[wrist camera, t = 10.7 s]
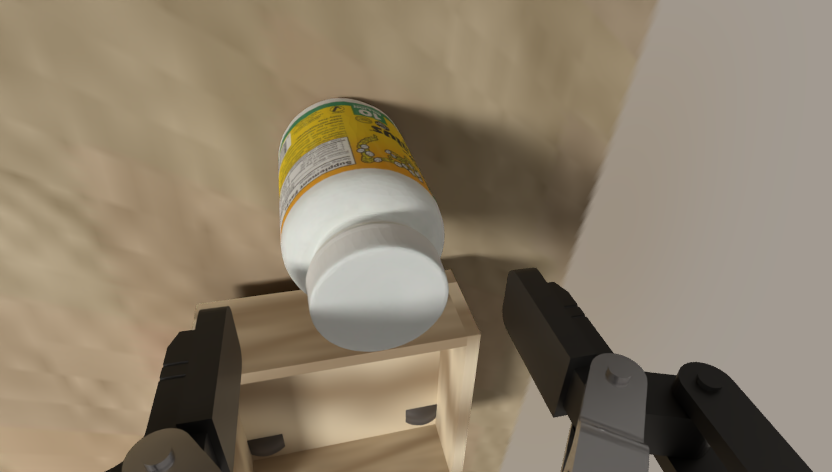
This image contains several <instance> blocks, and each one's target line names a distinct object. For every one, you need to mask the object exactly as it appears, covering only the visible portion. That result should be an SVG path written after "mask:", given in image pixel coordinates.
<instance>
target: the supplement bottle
mask: <svg viewBox="0 0 832 472" xmlns="http://www.w3.org/2000/svg"><path fill="white" fill-rule="evenodd" d="M278 172H279V173H278V176H279V201H280V238H281V250H282V257H283V260H284V264H285V267H286V269H287V271H288V273H289V275H290V276H291V278H292V280H293V281H294V282H295V283H296V285H297V286H298V287H299V288H300V289H301V290H302V291H303V292H304V293H306V294H307V297H308V306H309V312H310V316H311V319H312V322H313V324H314V326H315V328H316V329H317V330H318V332H319V333H320V334H321V335H322V336H323V337H324V338H325V339H327V340H328V341H329V342H331V343H333V344H335V345H337V346H339V347H342V348H345V349H349V350H354V351H364V352H374V351H382V350H387V349H391V348H395V347H398V346H401V345H404V344H406V343H408V342H410V341H412V340H414V339H416V338H417V337H419V336H421V335H422V334H423V333H425V332H426V331H427V330H428V329H429V328H430V327H431V326H433V324H434V323H435V322H436V321H437V320H438V318H439V317H440V316H441V314H442V313H443V311H444V308H445V306H446V303H447V300H448V295H449V287H448V280H447V276H446V273H445V270H444V268H443V265H442V263H441V260H440V257H441V254H442V250H443V245H444V224H443V219H442V216H441V213H440V210H439V207H438V204H437V202H436V200H435V198H434V197H433V195H432V193H431V191H430V190H429V188H428V186H427V184H426V182H425V180H424V178H423V176H422V175H421V173H420V170H419V168H418V167H417V165H416V163H415V161H414V159H413V157H412V155H411V153H410V151H409V149H408V147H407V146H406V144H405V142H404V140H403V138H402V136H401V134H400V132H399V130H398V129H397V127H396V126H395V124H394V123H393V121H392V120H391V119H390V118H389V117H388V116H387V115H386V114H385V113H383V112H382V111H381V110H379V109H377V108H376V107H374V106H371V105H369V104H366V103H364V102H361V101H358V100H353V99H348V98H332V99H327V100H324V101H321V102H318V103H316V104H313V105H311V106H310V107H308V108H306V109H305V110H303V111H302V112H301V113H299V114H298V115H297V116H296V117H295V118H294V119H293V120H292V122H291V123H290V124H289V126H288V127H287V129H286V131H285V133H284V135H283V137H282V140H281V143H280V148H279V169H278Z"/></svg>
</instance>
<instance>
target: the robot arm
mask: <svg viewBox="0 0 832 472" xmlns="http://www.w3.org/2000/svg"><path fill="white" fill-rule="evenodd" d="M503 320H504V324H505V327H506V329H507V331H508V333H509V335H510V337H511V339H512V341H513V342H514V344H515V346H516V348H517V350H518V352H519V354H520V356H521V357H522V359H523V361H524V363H525V365H526V367H527V369H528V371H529V373H530V374H531V376H532V378H533V380H534V382H535V384H536V386H537V388H538V389H539V391H540V393H541V395H542V397H543V399H544V401H545V403H546V405H547V406H548V408H549V410H550V412H551V414H552V416H553V417H558V416H564V415H568V416H569V418H570V420H571V422H572V424H571V427H570V430H569V435H568V439H567V444H566V449H565V453H564V458H563V463H562V467H561V472H648V468H649V454H653V455H654V457H655V458H656V460H657V462H658V463H659V465H660V467H661V468H662V470H663V471H664V472H813V471H812V470H811V469H810V468H809V467H808V466H807V464H806V463H805V462H804V461H803V460H802V459H801V458H800V457H799V455H798V454H797V453H796V452H795V451H794V450H793V448H792V447H791V446H790V445H789V444H788V443H787V442H786V440H785V439H784V438H783V437H782V436H781V435H780V434H779V432H778V431H777V430H776V429H775V428H774V427H773V426H772V424H771V423H770V422H769V421H768V420H767V419H766V417H764V415H763V414H762V413H761V412H760V411H759V409H758V408H756V406H755V405H754V404H753V403H752V402H751V400H750V399H749V398H748V397H747V396H746V395H745V393H744V392H743V391H742V390H741V389H740V388H739V387H738V385H737V384H736V383H735V382H734V381H733V380H732V379H731V378H730V377H729V376H728V375H727V374H726V373H724V372H723V371H721V370H720V369H718V368H716V367H714V366H711V365H708V364H705V363H700V362H691V363H687V364H684V365H683V366H682V367H681V368H680V370H679V372H678V374H677V375H668V374H659V373H650V372H644V371H643V369H642V368H641V367H640V366H639V365H638V364H637V363H636V362H634V361H633V360H631V359H629V358H627V357H625V356H623V355H619V354H614V353H613V352H612V351H611V349H610V348H609V347H608V345H607V344H606V342H605V341H604V340H603V338H602V337H601V336H600V334H599V333H598V332H597V331H596V329H595V327H594V326H593V325H592V324H591V322H590V321H589V319H588V318H587V317H585V314H584V313H583V311H582V310H581V309H580V307H578V306H577V303H576V302H575V301H574V299H573V298H572V297H571V295H570V294H569V292H567V291H566V290H565V289H563V288H562V287H560V286H559V285H558V284H556V283H555V282H549V283H547V282H546V281H545V279H544V278H543V276H542V275H541V274H540V272H539V271H538V270H537V269H536V268H526V269H518V270H511V271H510V272H509V274H508V279H507V285H506V291H505V297H504V303H503ZM241 373H242V355H241V347H240V343H239V339H238V335H237V331H236V327H235V323H234V319H233V315H232V311H231V308H230V307H229V306H224V307H216V308H208V309H201V310H199V312H198V316H197V321H196V326H195V330H189V331H182V332H179V333H178V335H177V336H176V337H175V339H174V340H173V341H172V342H171V344H170V345H169V346H168V348H167V351H166V355H165V359H164V363H163V368H162V371H161V375H160V381H159V383H158V386H157V390H156V394H155V398H154V402H153V406H152V410H151V414H150V418H149V422H148V425H147V429H146V433H145V436H144V438H142V439H141V440H140V441H138V442H137V443H136V444H135V445H134V446H133V447H132V448H131V449H130V451H129V452H128V454H127V455H126V457H125V459H124V461H123V462H121V463H120V464H118V465H117V466H115V467H113V468H111V469H110V470H108V471H105V472H233V468H234V456H235V444H236V432H237V420H238V409H239V397H240V385H241Z"/></svg>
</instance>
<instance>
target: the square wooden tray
mask: <svg viewBox="0 0 832 472" xmlns="http://www.w3.org/2000/svg"><path fill="white" fill-rule="evenodd" d="M445 273H446V276H447V280H448V287H449V295H448V300H447V303H446V306H445V308H444V311H443V313H442V314H441V316H440V317H439V318H438V320H437V321H436V322H435V323H434V324H433V326H431V327H430V328H429V329H428V330H427V331H426V332H425V333H423V334H422V335H421V336H419V337H417V338H416V339H414V340H412V341H410V342H408V343H406V344H404V345H401V346H398V347H395V348H391V349H387V350H382V351H374V352H364V351H354V350H349V349H345V348H342V347H339V346H337V345H335V344H333V343H331V342H329V341H328V340H327V339H325V338H324V337H323V336H322V335H321V334H320V333H319V332H318V330H317V329H316V328H315V326H314V324H313V322H312V319H311V316H310V312H309V306H308V297H307V294H306V293H304V292H303V291H302V290H296V291H289V292H281V293H274V294H267V295H259V296H252V297H245V298H237V299H230V300H223V301H216V302H208V303H201V304H197V306H196V311H195V316H194V321H193V327H192V330H195V326H196V321H197V316H198V312H199V310H201V309H208V308H216V307H224V306H229V307H230V308H231V311H232V315H233V319H234V323H235V327H236V331H237V335H238V339H239V343H240V347H241V355H242V373H241V385H240V397H239V409H238V420H237V432H236V444H235V456H234V468H233V472H462V471H463V463H464V456H465V448H466V441H467V434H468V426H469V419H470V412H471V404H472V397H473V389H474V382H475V375H476V367H477V360H478V353H479V345H480V338H481V333H480V331H479V329H478V327H477V325H476V322H475V320H474V318H473V316H472V314H471V312H470V309H469V307H468V305H467V303H466V301H465V299H464V296H463V294H462V292H461V290H460V288H459V286H458V284H457V281H456V279H455V277H454V275H453V273H452V271H451V269H449V270H445Z"/></svg>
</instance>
